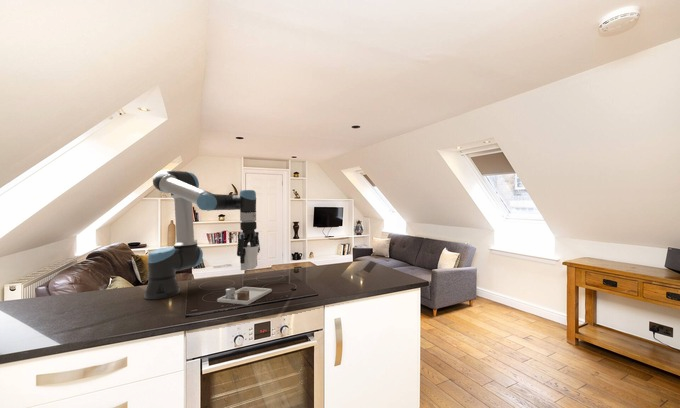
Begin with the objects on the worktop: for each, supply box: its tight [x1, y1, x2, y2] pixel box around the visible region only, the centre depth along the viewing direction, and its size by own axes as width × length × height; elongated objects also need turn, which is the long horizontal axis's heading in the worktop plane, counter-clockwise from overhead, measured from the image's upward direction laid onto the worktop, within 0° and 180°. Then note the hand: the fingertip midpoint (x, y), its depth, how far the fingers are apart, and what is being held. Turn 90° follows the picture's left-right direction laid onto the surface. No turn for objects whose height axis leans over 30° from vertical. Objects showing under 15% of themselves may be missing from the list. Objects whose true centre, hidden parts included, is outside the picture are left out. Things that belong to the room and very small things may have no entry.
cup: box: [243, 244, 260, 271], centre depth 138 cm, size 10×10×11 cm
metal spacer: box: [225, 287, 236, 300], centre depth 131 cm, size 4×4×5 cm
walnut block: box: [237, 291, 249, 301], centre depth 129 cm, size 4×4×4 cm
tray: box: [216, 286, 273, 306], centre depth 135 cm, size 16×20×2 cm
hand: (249, 267), depth 138 cm, fingers closed on cup, 8 cm apart
